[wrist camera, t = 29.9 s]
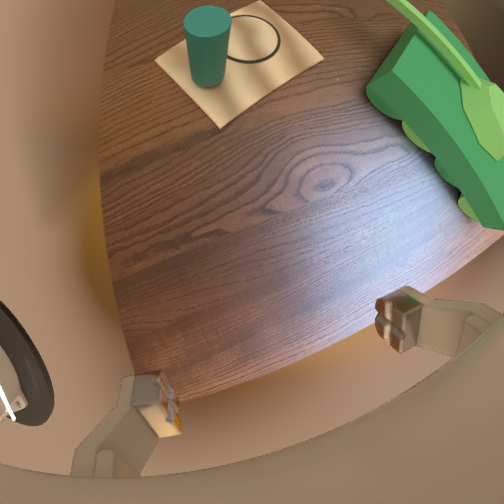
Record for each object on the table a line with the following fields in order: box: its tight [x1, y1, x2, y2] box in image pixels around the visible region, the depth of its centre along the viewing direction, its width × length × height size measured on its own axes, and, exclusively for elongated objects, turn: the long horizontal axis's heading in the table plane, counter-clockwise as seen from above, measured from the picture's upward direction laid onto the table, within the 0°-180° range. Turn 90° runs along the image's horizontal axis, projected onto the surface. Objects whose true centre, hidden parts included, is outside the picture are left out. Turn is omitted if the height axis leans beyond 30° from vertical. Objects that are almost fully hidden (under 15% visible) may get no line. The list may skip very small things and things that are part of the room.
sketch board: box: [154, 0, 324, 129], centre depth 26 cm, size 16×12×1 cm
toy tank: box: [366, 0, 504, 231], centre depth 24 cm, size 18×12×35 cm
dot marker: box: [183, 6, 232, 87], centre depth 20 cm, size 4×4×11 cm
